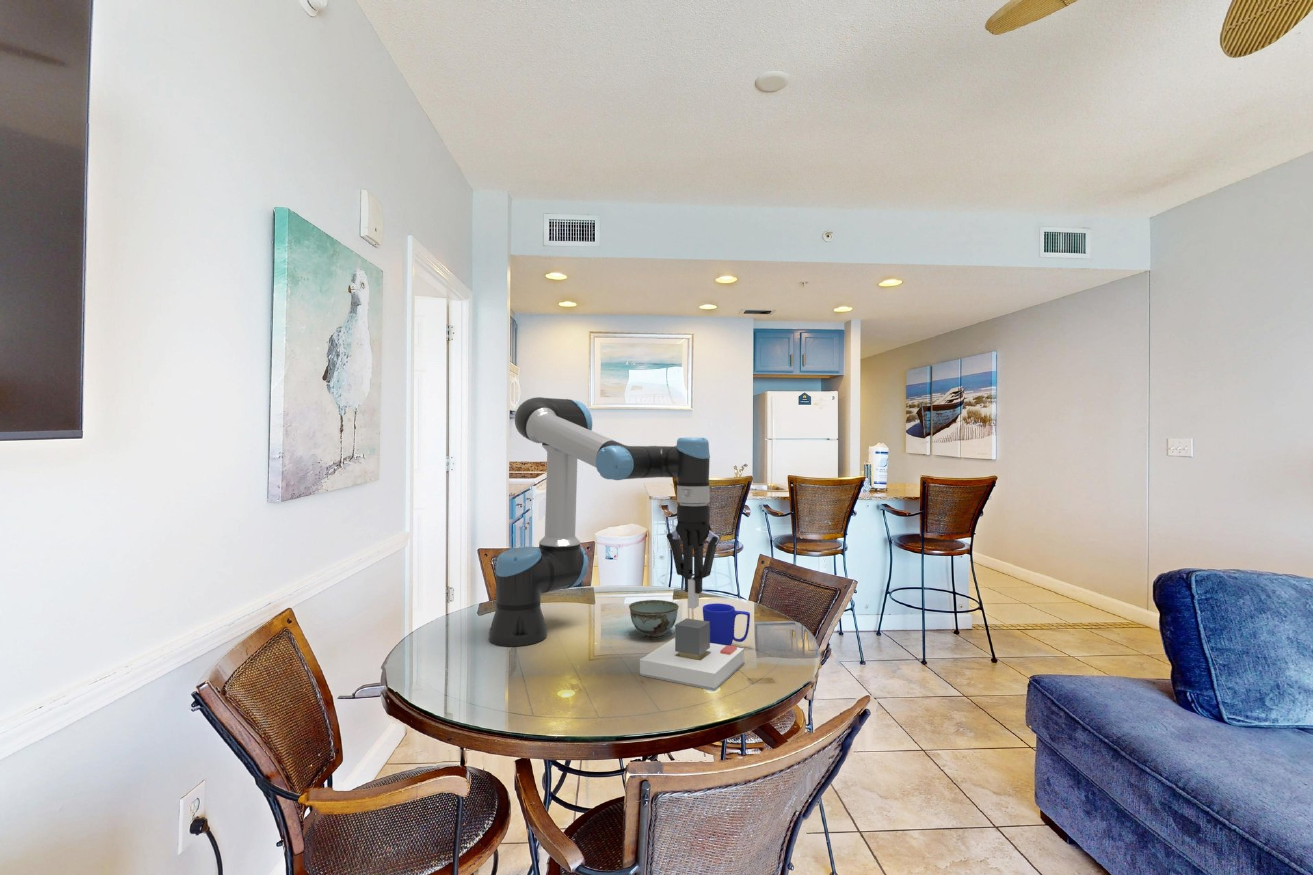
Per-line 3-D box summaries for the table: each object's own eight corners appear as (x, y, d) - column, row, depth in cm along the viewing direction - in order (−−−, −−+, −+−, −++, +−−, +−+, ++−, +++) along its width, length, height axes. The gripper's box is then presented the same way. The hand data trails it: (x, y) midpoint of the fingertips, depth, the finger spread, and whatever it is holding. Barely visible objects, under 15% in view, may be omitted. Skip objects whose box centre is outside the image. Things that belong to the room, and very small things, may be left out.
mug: (749, 654, 148) (749, 613, 149) (700, 650, 151) (700, 610, 151) (750, 643, 156) (750, 604, 157) (704, 640, 159) (704, 602, 159)
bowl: (669, 645, 155) (669, 614, 155) (621, 639, 159) (621, 609, 160) (684, 630, 168) (684, 601, 168) (640, 625, 172) (640, 597, 172)
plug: (675, 668, 137) (675, 624, 137) (686, 660, 142) (686, 618, 142) (699, 673, 134) (699, 628, 134) (709, 664, 139) (709, 621, 140)
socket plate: (639, 675, 135) (640, 656, 135) (675, 651, 150) (675, 634, 150) (714, 690, 126) (714, 670, 126) (744, 663, 142) (743, 645, 142)
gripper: (660, 504, 139) (660, 607, 138) (713, 506, 133) (713, 614, 132) (675, 501, 145) (675, 599, 145) (725, 504, 139) (726, 606, 139)
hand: (693, 606), depth 138 cm, fingers closed
